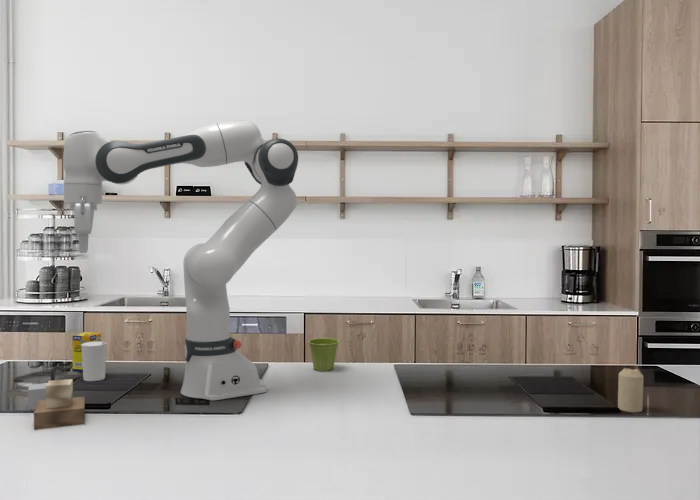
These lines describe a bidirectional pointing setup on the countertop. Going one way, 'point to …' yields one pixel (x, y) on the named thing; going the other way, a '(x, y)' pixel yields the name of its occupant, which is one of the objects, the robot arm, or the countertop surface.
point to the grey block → (36, 394)
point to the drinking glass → (93, 360)
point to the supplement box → (77, 349)
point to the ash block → (59, 393)
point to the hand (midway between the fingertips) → (83, 251)
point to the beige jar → (630, 390)
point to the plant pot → (323, 353)
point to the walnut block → (59, 414)
